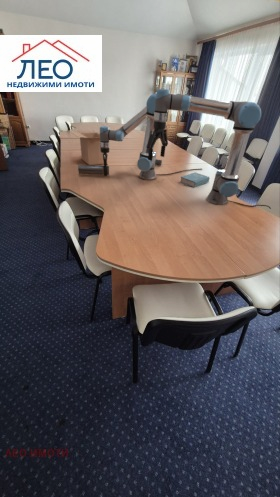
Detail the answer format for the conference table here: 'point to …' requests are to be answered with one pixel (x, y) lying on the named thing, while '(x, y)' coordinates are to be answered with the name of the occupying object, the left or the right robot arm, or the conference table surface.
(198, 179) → the book
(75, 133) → the box
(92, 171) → the rod
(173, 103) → the right robot arm
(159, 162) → the laser sight
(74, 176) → the conference table surface
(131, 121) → the left robot arm
